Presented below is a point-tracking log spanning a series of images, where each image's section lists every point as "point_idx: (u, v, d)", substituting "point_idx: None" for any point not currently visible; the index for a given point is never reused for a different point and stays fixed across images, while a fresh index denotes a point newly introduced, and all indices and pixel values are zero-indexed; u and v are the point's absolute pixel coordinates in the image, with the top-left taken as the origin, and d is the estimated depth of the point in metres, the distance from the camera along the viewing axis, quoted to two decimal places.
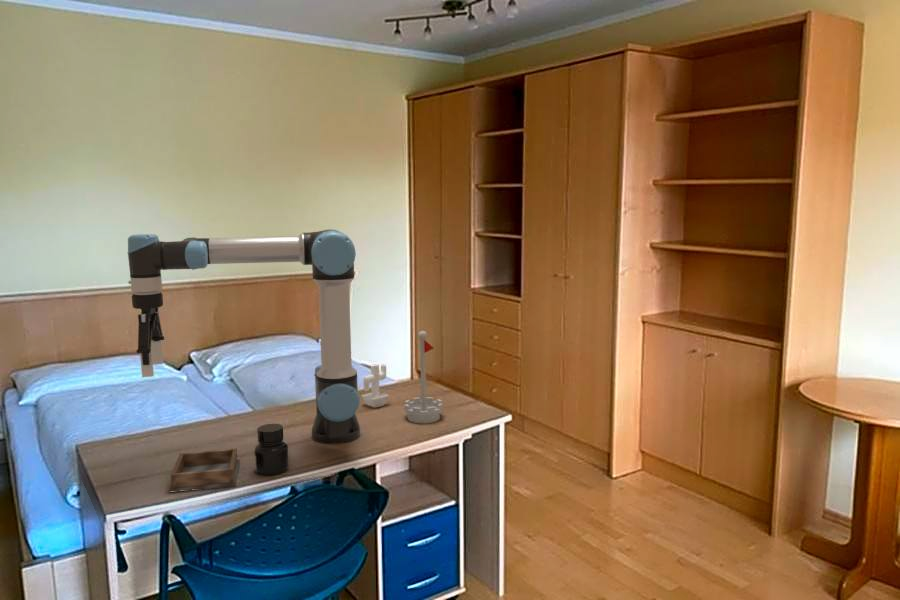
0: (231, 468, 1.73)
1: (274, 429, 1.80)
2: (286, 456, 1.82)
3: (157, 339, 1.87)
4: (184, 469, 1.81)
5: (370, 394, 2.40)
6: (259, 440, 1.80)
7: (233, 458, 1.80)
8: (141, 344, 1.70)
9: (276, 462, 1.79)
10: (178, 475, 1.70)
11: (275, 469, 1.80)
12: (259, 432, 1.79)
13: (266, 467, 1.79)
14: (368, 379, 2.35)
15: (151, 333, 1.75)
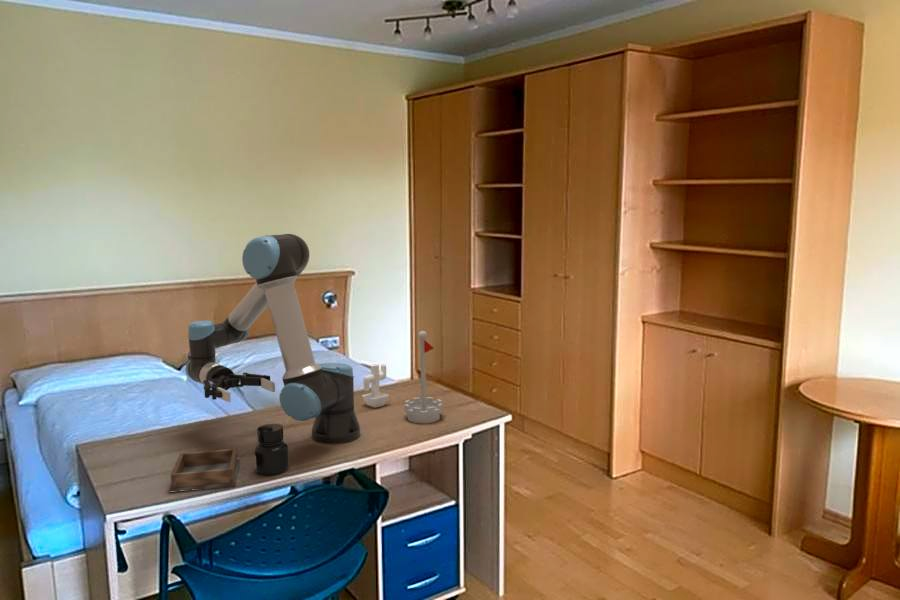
0: (231, 468, 1.73)
1: (274, 429, 1.80)
2: (286, 456, 1.82)
3: None
4: (184, 469, 1.81)
5: (370, 394, 2.40)
6: (259, 440, 1.80)
7: (233, 458, 1.80)
8: None
9: (276, 462, 1.79)
10: (178, 475, 1.70)
11: (275, 469, 1.80)
12: (259, 432, 1.79)
13: (266, 467, 1.79)
14: (368, 379, 2.35)
15: (218, 383, 1.92)
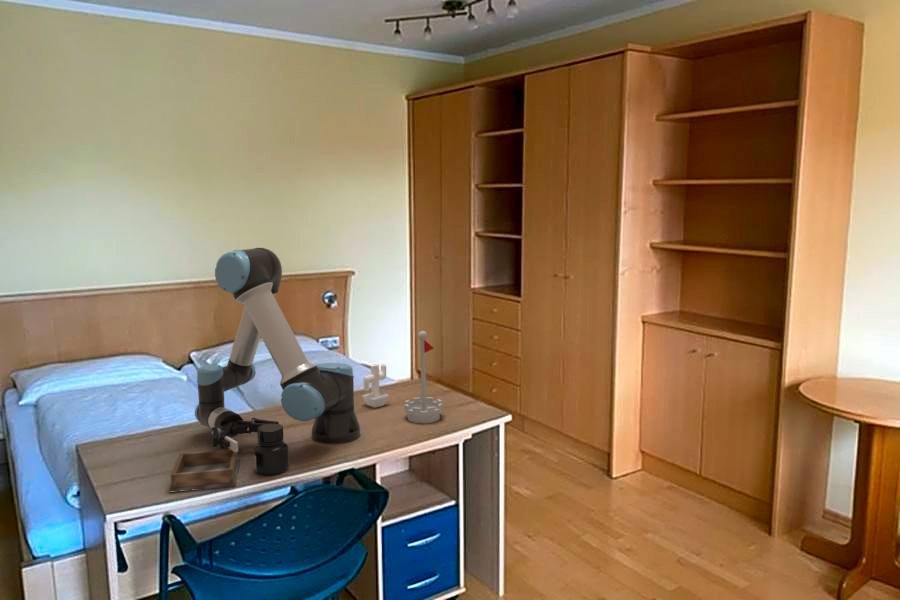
0: (231, 468, 1.73)
1: (274, 429, 1.80)
2: (286, 456, 1.82)
3: None
4: (184, 469, 1.81)
5: (370, 394, 2.40)
6: (259, 440, 1.80)
7: (233, 458, 1.80)
8: None
9: (276, 462, 1.79)
10: (178, 475, 1.70)
11: (275, 469, 1.80)
12: (259, 432, 1.79)
13: (266, 467, 1.79)
14: (368, 379, 2.35)
15: (227, 430, 1.91)
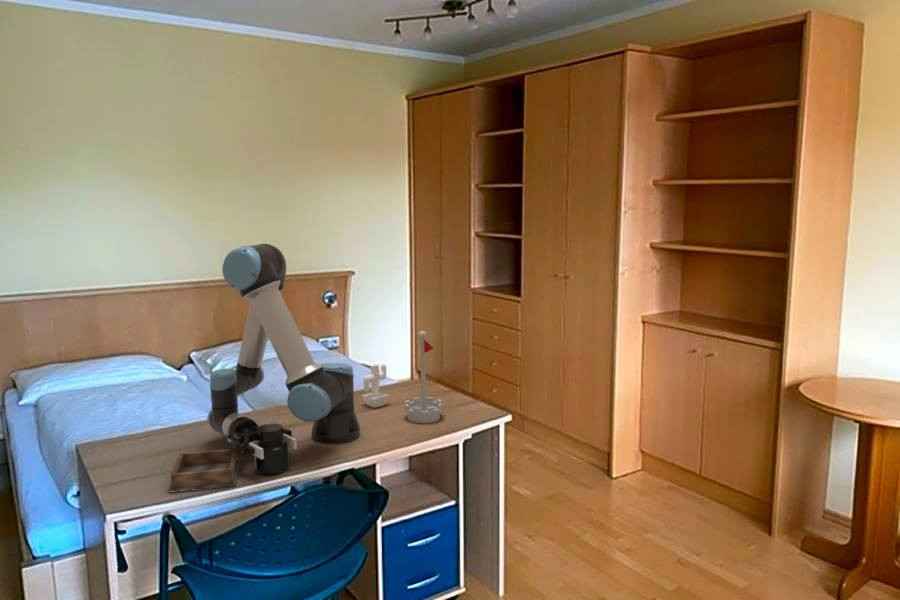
0: (231, 468, 1.73)
1: (274, 429, 1.80)
2: (286, 456, 1.82)
3: None
4: (184, 469, 1.81)
5: (370, 394, 2.40)
6: (259, 440, 1.80)
7: (233, 458, 1.80)
8: (235, 449, 1.81)
9: (276, 462, 1.79)
10: (178, 475, 1.70)
11: (275, 469, 1.80)
12: (259, 432, 1.79)
13: (266, 467, 1.79)
14: (368, 379, 2.35)
15: (246, 437, 1.85)
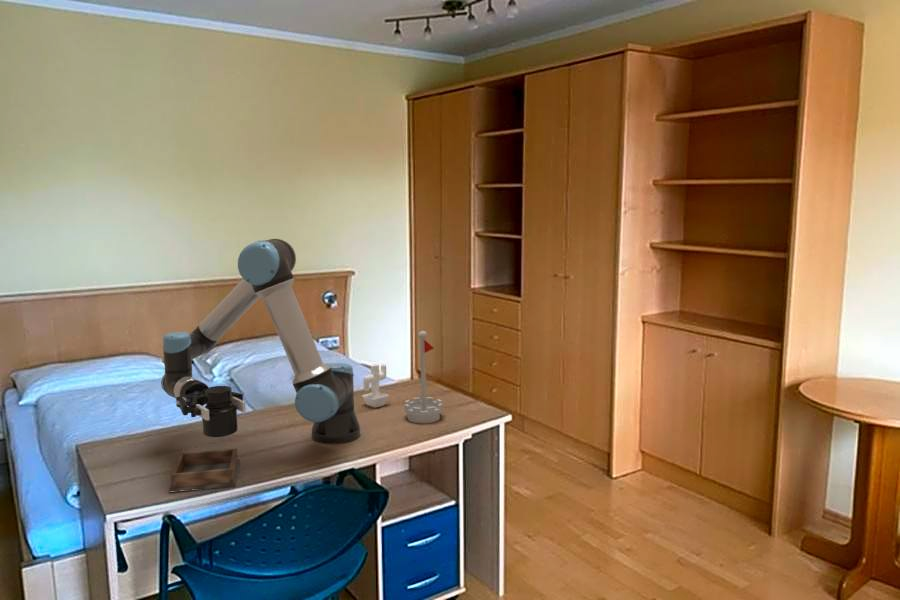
0: (231, 468, 1.73)
1: (222, 390, 1.76)
2: (234, 419, 1.78)
3: None
4: (184, 469, 1.81)
5: (370, 394, 2.40)
6: (206, 401, 1.75)
7: (233, 458, 1.80)
8: (182, 410, 1.76)
9: (223, 424, 1.75)
10: (178, 475, 1.70)
11: (222, 431, 1.75)
12: (206, 393, 1.75)
13: (213, 429, 1.74)
14: (368, 379, 2.35)
15: (195, 399, 1.81)
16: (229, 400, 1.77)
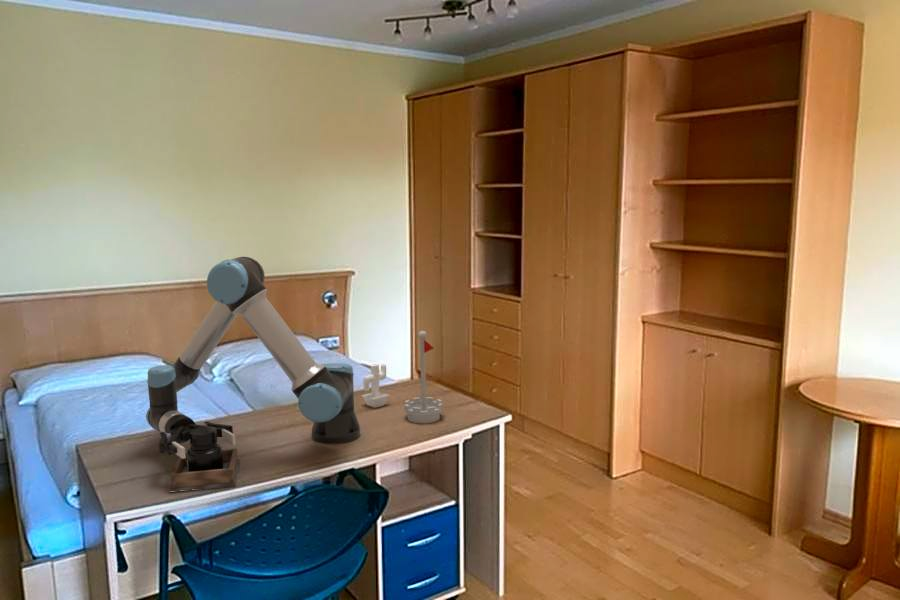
0: (231, 468, 1.73)
1: (207, 432, 1.75)
2: (220, 460, 1.77)
3: None
4: (184, 469, 1.81)
5: (370, 394, 2.40)
6: (191, 443, 1.75)
7: (233, 458, 1.80)
8: None
9: (208, 466, 1.74)
10: (178, 475, 1.70)
11: None
12: (191, 435, 1.74)
13: None
14: (368, 379, 2.35)
15: (176, 435, 1.80)
16: (214, 441, 1.76)
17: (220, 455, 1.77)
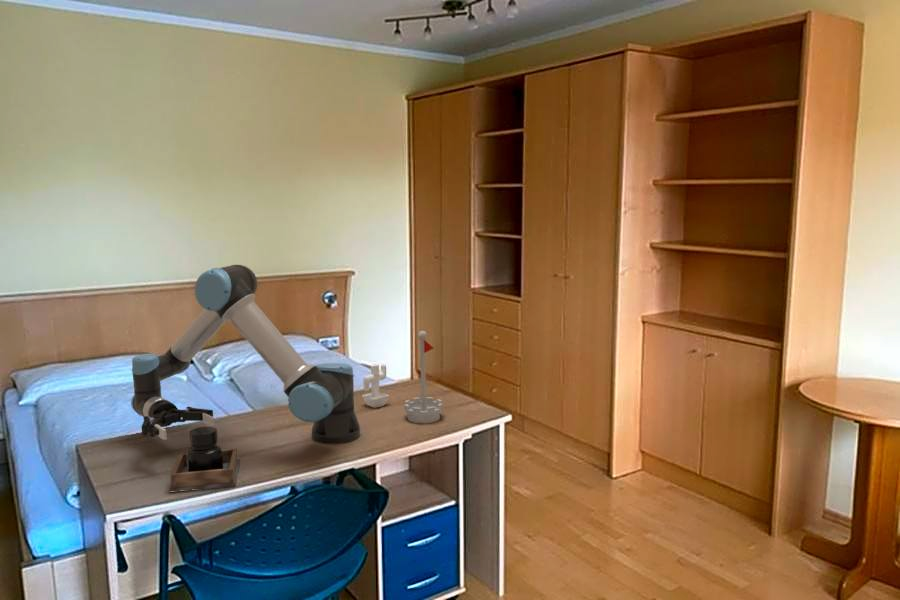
0: (231, 468, 1.73)
1: (207, 432, 1.75)
2: (220, 460, 1.77)
3: None
4: (184, 469, 1.81)
5: (370, 394, 2.40)
6: (191, 443, 1.75)
7: (233, 458, 1.80)
8: None
9: (209, 466, 1.74)
10: (178, 475, 1.70)
11: None
12: (191, 435, 1.74)
13: None
14: (368, 379, 2.35)
15: (158, 419, 1.89)
16: (214, 441, 1.76)
17: (220, 455, 1.77)
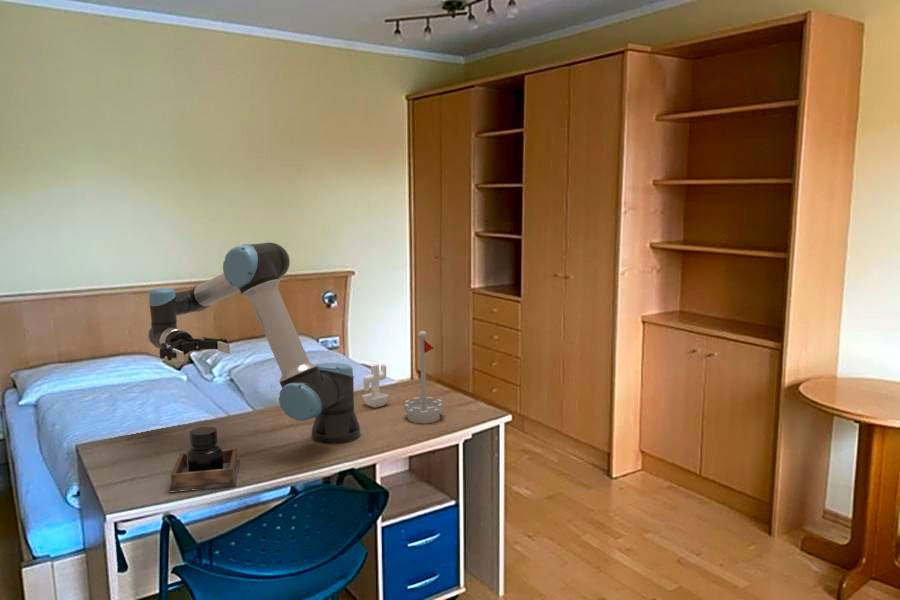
0: (231, 468, 1.73)
1: (207, 432, 1.75)
2: (220, 460, 1.77)
3: None
4: (184, 469, 1.81)
5: (370, 394, 2.40)
6: (191, 443, 1.75)
7: (233, 458, 1.80)
8: None
9: (209, 466, 1.74)
10: (178, 475, 1.70)
11: None
12: (191, 435, 1.74)
13: None
14: (368, 379, 2.35)
15: (175, 345, 1.96)
16: (214, 441, 1.76)
17: (220, 455, 1.77)
